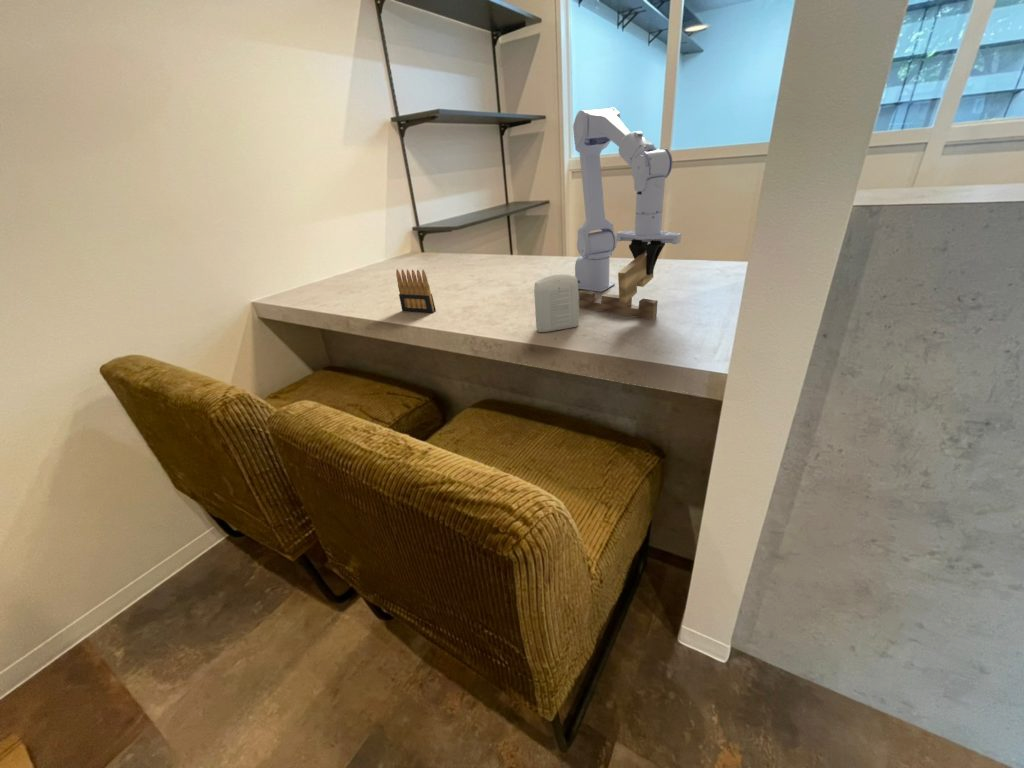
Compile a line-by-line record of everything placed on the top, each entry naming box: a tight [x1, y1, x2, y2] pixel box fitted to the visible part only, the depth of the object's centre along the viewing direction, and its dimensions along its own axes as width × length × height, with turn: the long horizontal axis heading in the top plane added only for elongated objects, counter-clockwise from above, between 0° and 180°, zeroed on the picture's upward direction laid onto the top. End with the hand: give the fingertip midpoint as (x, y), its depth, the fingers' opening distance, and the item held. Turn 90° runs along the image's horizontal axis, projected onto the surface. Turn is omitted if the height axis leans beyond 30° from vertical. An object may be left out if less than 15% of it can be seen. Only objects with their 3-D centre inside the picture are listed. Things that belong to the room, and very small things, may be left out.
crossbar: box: [617, 250, 654, 303], centre depth 95 cm, size 2×14×7 cm, turn 139°
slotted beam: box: [578, 289, 659, 321], centre depth 102 cm, size 20×2×4 cm, turn 49°
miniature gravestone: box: [533, 274, 580, 333], centre depth 95 cm, size 10×4×12 cm, turn 103°
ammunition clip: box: [395, 269, 437, 314], centre depth 116 cm, size 11×2×12 cm, turn 65°
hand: (645, 273), depth 98 cm, fingers closed on crossbar, 2 cm apart
